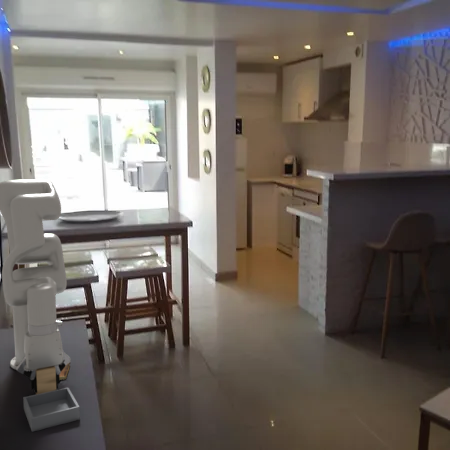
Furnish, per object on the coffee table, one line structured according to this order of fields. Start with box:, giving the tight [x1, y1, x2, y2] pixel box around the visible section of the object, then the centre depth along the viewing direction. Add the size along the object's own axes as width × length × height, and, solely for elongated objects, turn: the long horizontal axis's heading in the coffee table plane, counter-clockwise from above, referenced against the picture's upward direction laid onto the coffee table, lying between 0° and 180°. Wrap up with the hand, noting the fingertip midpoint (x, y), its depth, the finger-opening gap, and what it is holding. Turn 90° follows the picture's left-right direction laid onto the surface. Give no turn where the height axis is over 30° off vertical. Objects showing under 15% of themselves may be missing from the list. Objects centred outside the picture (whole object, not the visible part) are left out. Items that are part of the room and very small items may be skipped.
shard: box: [59, 361, 71, 381], centre depth 155 cm, size 11×8×2 cm
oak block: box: [35, 366, 57, 395], centre depth 143 cm, size 5×5×8 cm
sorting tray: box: [22, 387, 81, 433], centre depth 132 cm, size 12×12×4 cm
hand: (45, 387), depth 143 cm, fingers closed on oak block, 5 cm apart
